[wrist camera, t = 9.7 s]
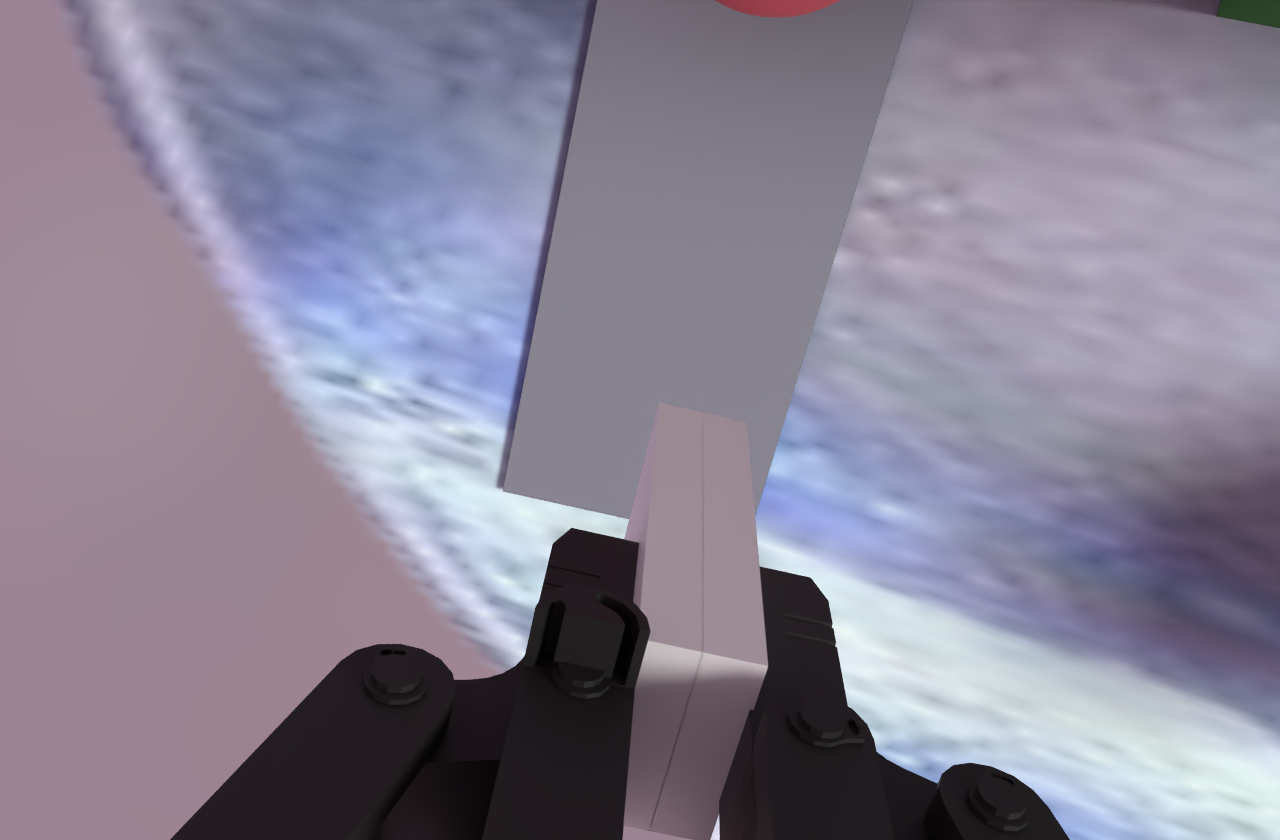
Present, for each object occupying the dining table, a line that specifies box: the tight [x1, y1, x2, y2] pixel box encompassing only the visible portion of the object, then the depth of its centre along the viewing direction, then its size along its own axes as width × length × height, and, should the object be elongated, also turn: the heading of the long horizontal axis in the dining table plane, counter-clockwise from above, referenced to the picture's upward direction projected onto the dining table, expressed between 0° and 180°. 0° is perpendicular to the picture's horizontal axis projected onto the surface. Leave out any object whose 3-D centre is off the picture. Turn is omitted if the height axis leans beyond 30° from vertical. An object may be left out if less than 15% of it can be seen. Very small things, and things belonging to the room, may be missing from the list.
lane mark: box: [503, 0, 913, 519], centre depth 29 cm, size 28×8×1 cm, turn 168°
